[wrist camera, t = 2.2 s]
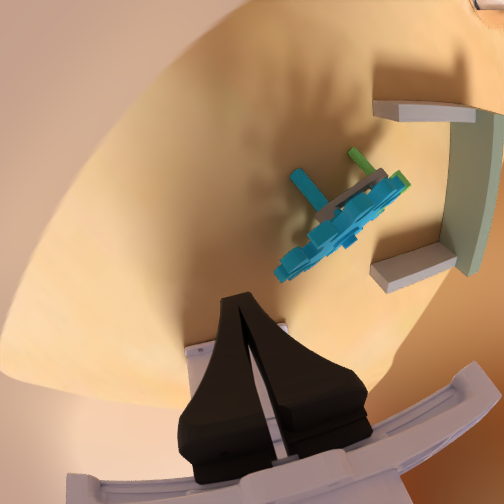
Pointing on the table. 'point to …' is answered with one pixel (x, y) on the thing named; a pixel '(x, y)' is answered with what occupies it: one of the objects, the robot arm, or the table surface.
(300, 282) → the table surface
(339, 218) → the blue toy cog wheel
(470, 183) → the green u-shaped bracket
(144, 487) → the robot arm
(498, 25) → the white cylindrical tube
